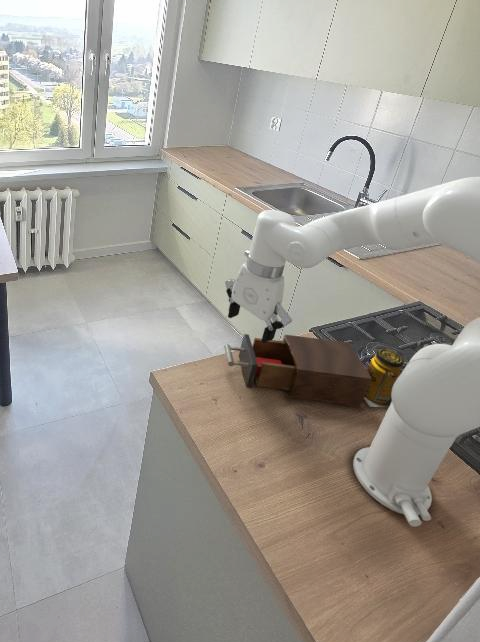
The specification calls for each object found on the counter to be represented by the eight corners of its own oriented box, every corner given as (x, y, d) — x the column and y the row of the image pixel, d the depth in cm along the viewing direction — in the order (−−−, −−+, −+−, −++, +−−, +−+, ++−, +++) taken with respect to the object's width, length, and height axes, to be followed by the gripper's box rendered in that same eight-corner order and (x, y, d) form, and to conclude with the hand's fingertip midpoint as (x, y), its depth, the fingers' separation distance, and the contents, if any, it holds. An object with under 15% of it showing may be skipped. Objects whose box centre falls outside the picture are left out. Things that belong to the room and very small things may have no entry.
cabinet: (289, 398, 97) (299, 369, 93) (276, 362, 108) (284, 334, 104) (359, 408, 96) (372, 378, 92) (339, 370, 106) (349, 342, 102)
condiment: (351, 382, 103) (367, 344, 98) (385, 383, 103) (402, 346, 98) (369, 407, 96) (386, 368, 91) (405, 408, 96) (424, 369, 91)
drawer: (226, 385, 99) (231, 361, 96) (220, 353, 108) (224, 331, 105) (310, 396, 97) (318, 373, 94) (296, 363, 106) (303, 341, 103)
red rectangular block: (278, 368, 103) (280, 360, 102) (282, 378, 100) (284, 369, 99) (249, 364, 104) (251, 356, 103) (252, 374, 101) (254, 366, 100)
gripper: (222, 251, 95) (210, 312, 102) (290, 291, 82) (270, 357, 89) (244, 244, 99) (231, 303, 106) (311, 280, 86) (291, 344, 93)
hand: (249, 327), depth 98 cm, fingers open, 9 cm apart
